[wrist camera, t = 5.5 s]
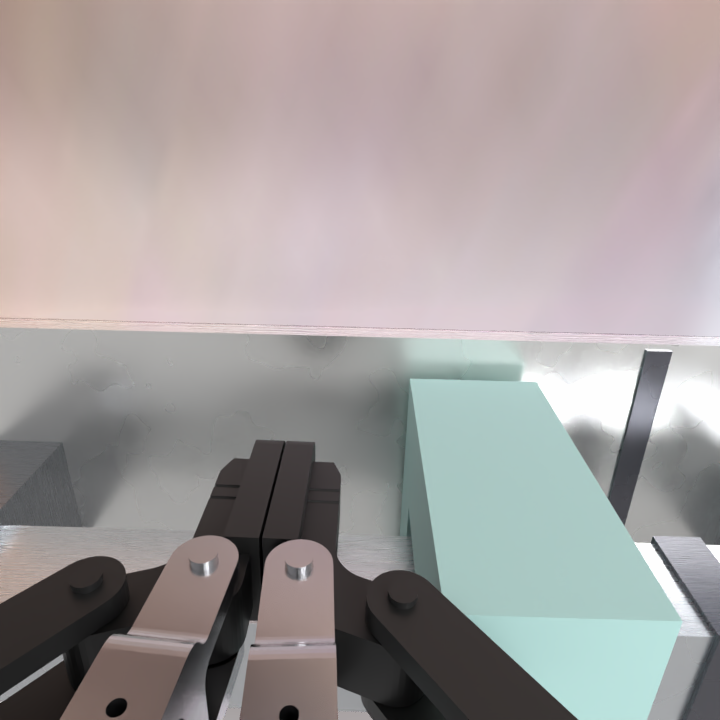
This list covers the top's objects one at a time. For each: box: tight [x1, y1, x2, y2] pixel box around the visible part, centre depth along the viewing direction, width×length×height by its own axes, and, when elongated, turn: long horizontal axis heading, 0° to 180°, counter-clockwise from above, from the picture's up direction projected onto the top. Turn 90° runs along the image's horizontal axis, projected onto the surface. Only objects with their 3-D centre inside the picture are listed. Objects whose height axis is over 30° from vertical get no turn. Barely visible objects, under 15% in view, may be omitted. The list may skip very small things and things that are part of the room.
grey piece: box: [0, 318, 720, 720], centre depth 18 cm, size 13×29×8 cm, turn 89°
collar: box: [400, 379, 683, 720], centre depth 16 cm, size 11×4×9 cm, turn 179°
